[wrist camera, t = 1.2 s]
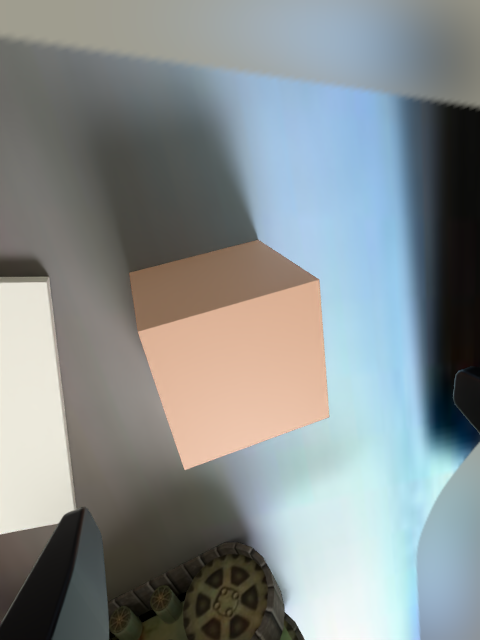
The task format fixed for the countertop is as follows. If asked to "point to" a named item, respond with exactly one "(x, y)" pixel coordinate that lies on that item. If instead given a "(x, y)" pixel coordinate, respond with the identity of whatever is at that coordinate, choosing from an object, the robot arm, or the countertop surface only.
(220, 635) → the toy
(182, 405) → the block
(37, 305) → the board
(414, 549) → the countertop surface
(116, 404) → the countertop surface
